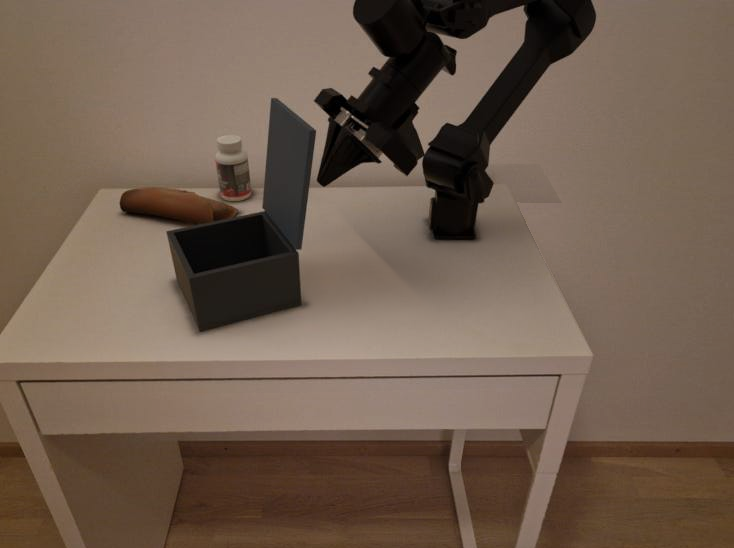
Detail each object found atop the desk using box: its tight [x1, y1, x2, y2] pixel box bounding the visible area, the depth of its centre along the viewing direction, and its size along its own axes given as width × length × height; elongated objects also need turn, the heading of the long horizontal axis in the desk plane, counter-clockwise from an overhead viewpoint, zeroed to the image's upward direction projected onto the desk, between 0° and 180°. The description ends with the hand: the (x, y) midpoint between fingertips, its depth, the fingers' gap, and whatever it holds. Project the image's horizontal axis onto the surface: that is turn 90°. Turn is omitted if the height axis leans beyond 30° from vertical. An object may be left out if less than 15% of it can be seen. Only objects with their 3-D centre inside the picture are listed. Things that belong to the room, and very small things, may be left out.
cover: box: [262, 97, 317, 251], centre depth 72 cm, size 14×13×1 cm
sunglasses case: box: [119, 187, 239, 225], centre depth 97 cm, size 18×7×7 cm, turn 69°
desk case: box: [165, 210, 303, 333], centre depth 77 cm, size 14×13×8 cm
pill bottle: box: [214, 134, 252, 202], centre depth 100 cm, size 5×5×10 cm
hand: (320, 184), depth 75 cm, fingers closed
